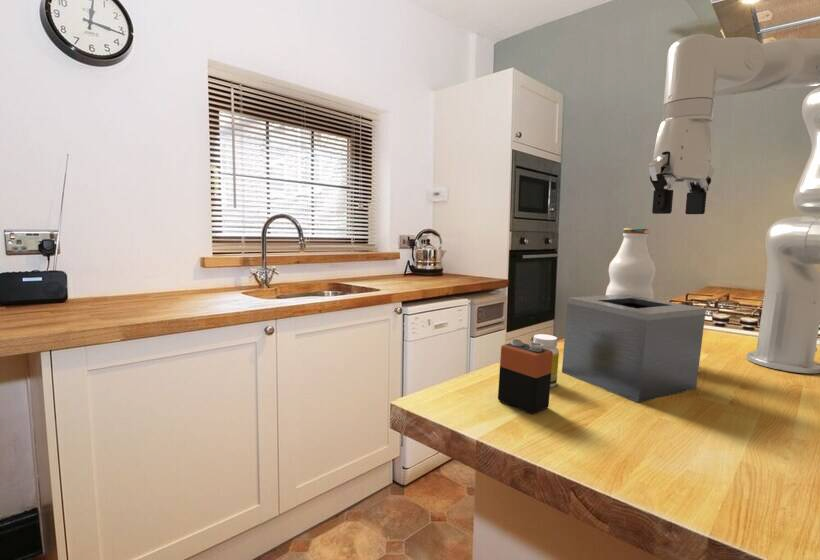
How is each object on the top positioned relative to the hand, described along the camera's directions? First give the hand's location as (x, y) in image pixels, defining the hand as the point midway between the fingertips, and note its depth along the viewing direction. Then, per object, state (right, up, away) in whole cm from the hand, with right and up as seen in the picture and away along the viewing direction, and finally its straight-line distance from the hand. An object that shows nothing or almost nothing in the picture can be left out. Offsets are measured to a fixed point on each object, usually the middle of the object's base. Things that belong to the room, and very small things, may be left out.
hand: (678, 213), depth 79 cm
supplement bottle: (-25, -30, -1) cm, 39 cm away
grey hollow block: (-8, -30, +2) cm, 32 cm away
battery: (-31, -31, -11) cm, 45 cm away
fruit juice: (-1, -29, +18) cm, 34 cm away
